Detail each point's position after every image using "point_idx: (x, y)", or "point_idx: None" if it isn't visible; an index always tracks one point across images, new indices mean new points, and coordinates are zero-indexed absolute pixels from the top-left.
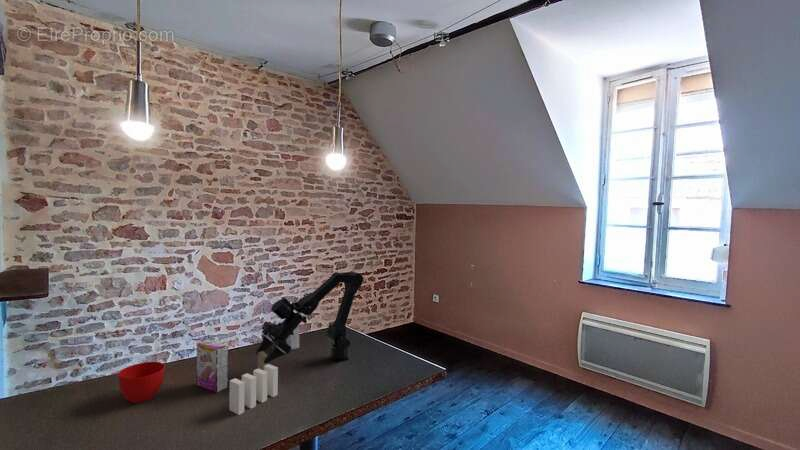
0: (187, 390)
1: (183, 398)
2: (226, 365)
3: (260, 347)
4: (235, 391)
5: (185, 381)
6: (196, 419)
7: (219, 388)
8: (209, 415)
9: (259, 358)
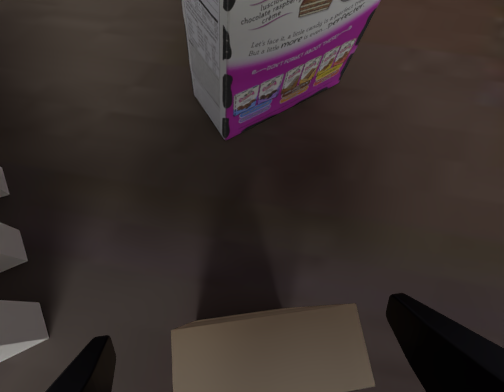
0: None
1: None
2: (218, 26)
3: (468, 360)
4: None
5: None
6: (12, 11)
7: (197, 94)
8: (6, 47)
9: (277, 312)
